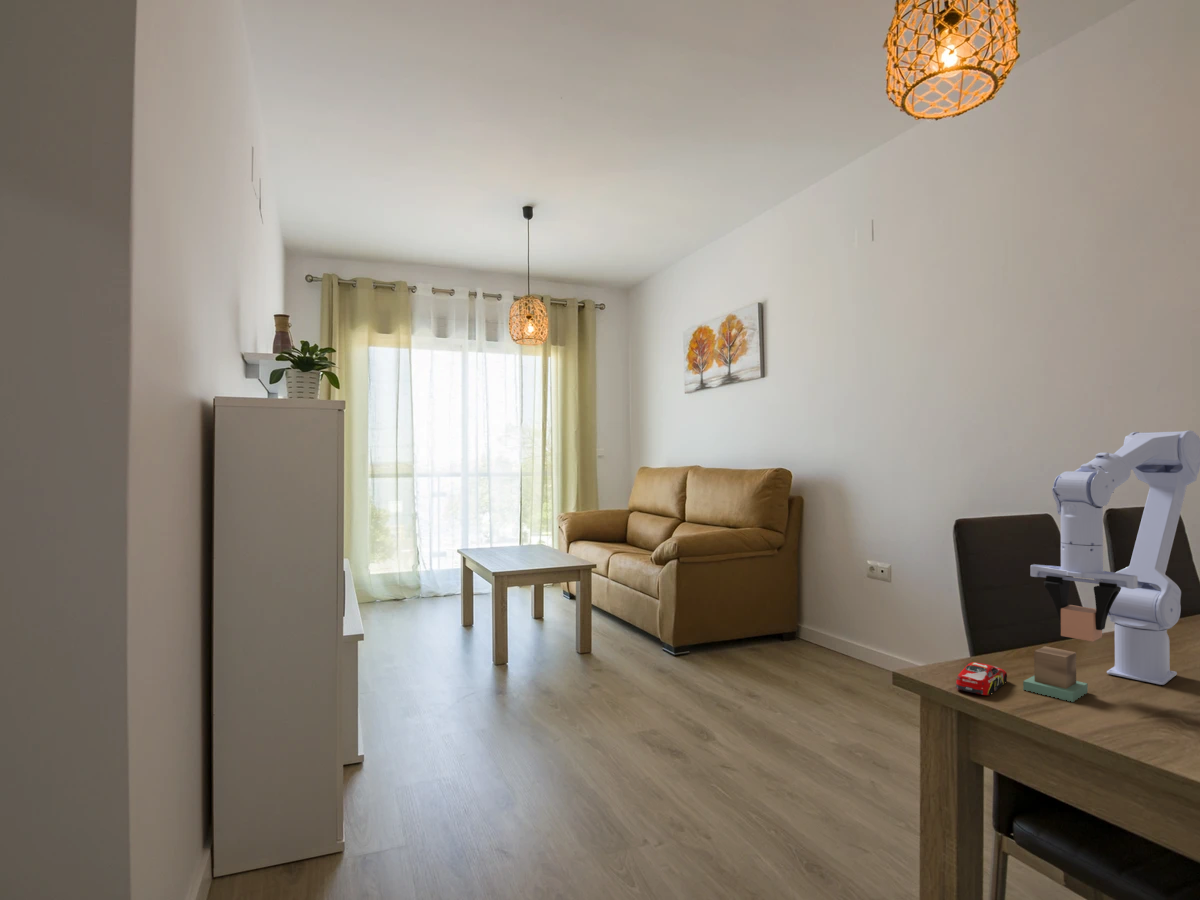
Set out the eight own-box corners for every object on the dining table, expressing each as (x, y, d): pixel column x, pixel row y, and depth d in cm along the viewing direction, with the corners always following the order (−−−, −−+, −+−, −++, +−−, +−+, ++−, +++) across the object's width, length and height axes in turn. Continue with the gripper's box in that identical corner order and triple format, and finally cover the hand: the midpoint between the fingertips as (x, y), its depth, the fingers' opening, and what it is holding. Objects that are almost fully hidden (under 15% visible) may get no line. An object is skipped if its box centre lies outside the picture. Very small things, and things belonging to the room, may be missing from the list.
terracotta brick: (1070, 631, 115) (1070, 604, 115) (1102, 636, 112) (1101, 609, 112) (1060, 635, 113) (1060, 608, 113) (1093, 641, 109) (1093, 613, 109)
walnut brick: (1045, 676, 115) (1044, 646, 115) (1076, 683, 111) (1076, 652, 111) (1034, 681, 112) (1034, 650, 112) (1066, 688, 108) (1065, 657, 108)
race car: (976, 675, 121) (976, 652, 121) (1011, 682, 117) (1011, 659, 117) (949, 692, 112) (949, 667, 112) (986, 701, 108) (986, 675, 108)
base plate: (1039, 681, 116) (1039, 672, 116) (1087, 692, 111) (1087, 683, 111) (1023, 690, 112) (1023, 681, 112) (1073, 702, 106) (1072, 692, 106)
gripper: (1023, 541, 116) (1023, 621, 115) (1128, 550, 104) (1128, 638, 104) (1038, 538, 120) (1038, 615, 120) (1141, 546, 109) (1141, 631, 109)
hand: (1081, 626), depth 112 cm, fingers closed on terracotta brick, 4 cm apart
